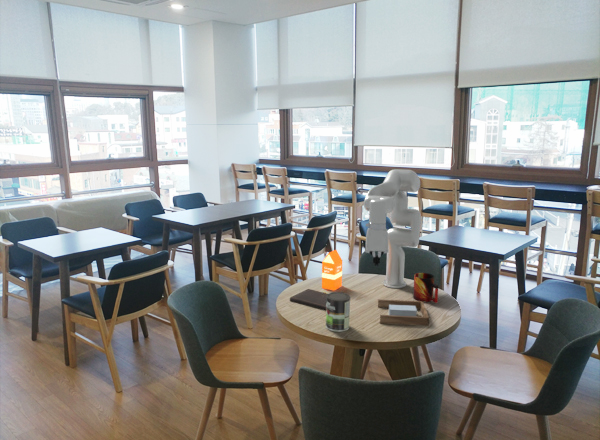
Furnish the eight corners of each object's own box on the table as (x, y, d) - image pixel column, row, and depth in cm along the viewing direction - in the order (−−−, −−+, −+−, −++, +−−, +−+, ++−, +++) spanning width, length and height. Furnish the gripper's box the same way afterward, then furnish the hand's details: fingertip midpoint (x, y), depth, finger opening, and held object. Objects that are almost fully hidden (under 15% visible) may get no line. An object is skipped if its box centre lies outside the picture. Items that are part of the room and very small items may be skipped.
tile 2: (401, 313, 219) (402, 305, 218) (414, 313, 218) (415, 305, 217) (403, 318, 213) (403, 310, 212) (416, 319, 212) (416, 310, 211)
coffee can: (334, 333, 196) (334, 302, 194) (321, 324, 205) (321, 294, 202) (354, 328, 201) (355, 297, 199) (340, 320, 210) (341, 290, 207)
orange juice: (342, 286, 255) (342, 250, 251) (334, 290, 248) (334, 254, 244) (329, 283, 259) (329, 248, 255) (321, 287, 252) (321, 252, 248)
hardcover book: (308, 292, 246) (308, 288, 246) (346, 302, 233) (346, 298, 232) (289, 301, 233) (289, 297, 233) (328, 312, 220) (328, 308, 220)
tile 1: (388, 312, 219) (388, 304, 219) (401, 313, 219) (401, 305, 218) (389, 317, 213) (389, 309, 213) (402, 318, 213) (403, 310, 212)
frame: (377, 306, 226) (378, 299, 226) (422, 308, 224) (422, 301, 223) (380, 323, 207) (380, 315, 206) (428, 325, 205) (429, 318, 204)
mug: (436, 305, 228) (438, 281, 226) (409, 299, 236) (411, 276, 234) (443, 299, 235) (445, 276, 233) (417, 293, 244) (419, 271, 241)
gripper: (360, 227, 210) (360, 266, 214) (394, 228, 208) (393, 267, 212) (360, 224, 217) (359, 261, 221) (393, 224, 216) (391, 262, 220)
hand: (376, 264), depth 217 cm, fingers closed
